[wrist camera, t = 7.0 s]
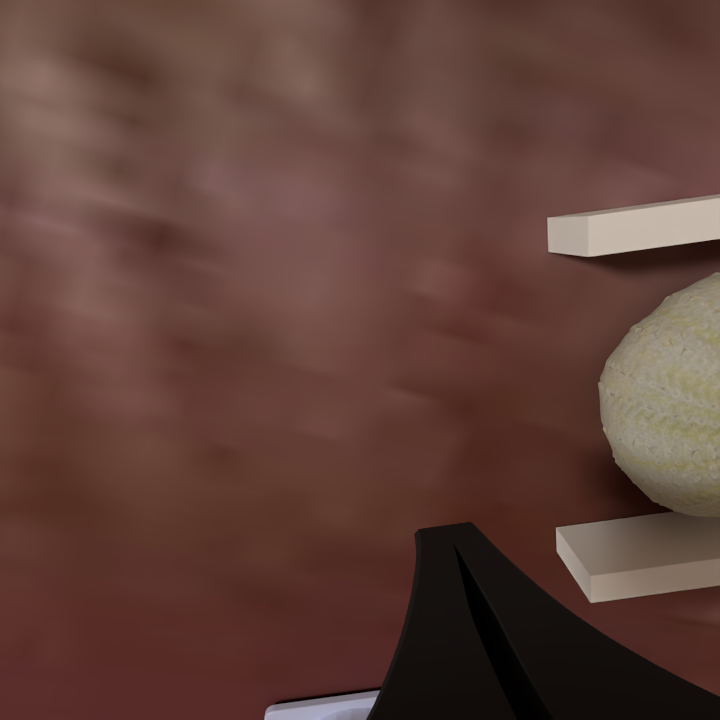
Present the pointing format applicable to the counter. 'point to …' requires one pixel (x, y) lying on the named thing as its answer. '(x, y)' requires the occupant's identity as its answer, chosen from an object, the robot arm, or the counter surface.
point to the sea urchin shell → (669, 401)
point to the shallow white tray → (656, 531)
